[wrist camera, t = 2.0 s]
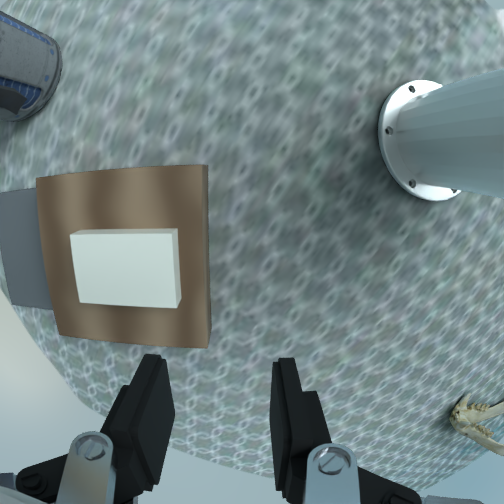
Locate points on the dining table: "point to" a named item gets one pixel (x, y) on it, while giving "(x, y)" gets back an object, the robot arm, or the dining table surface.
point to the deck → (129, 217)
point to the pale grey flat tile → (127, 267)
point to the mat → (23, 249)
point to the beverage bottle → (26, 69)
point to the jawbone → (466, 421)
